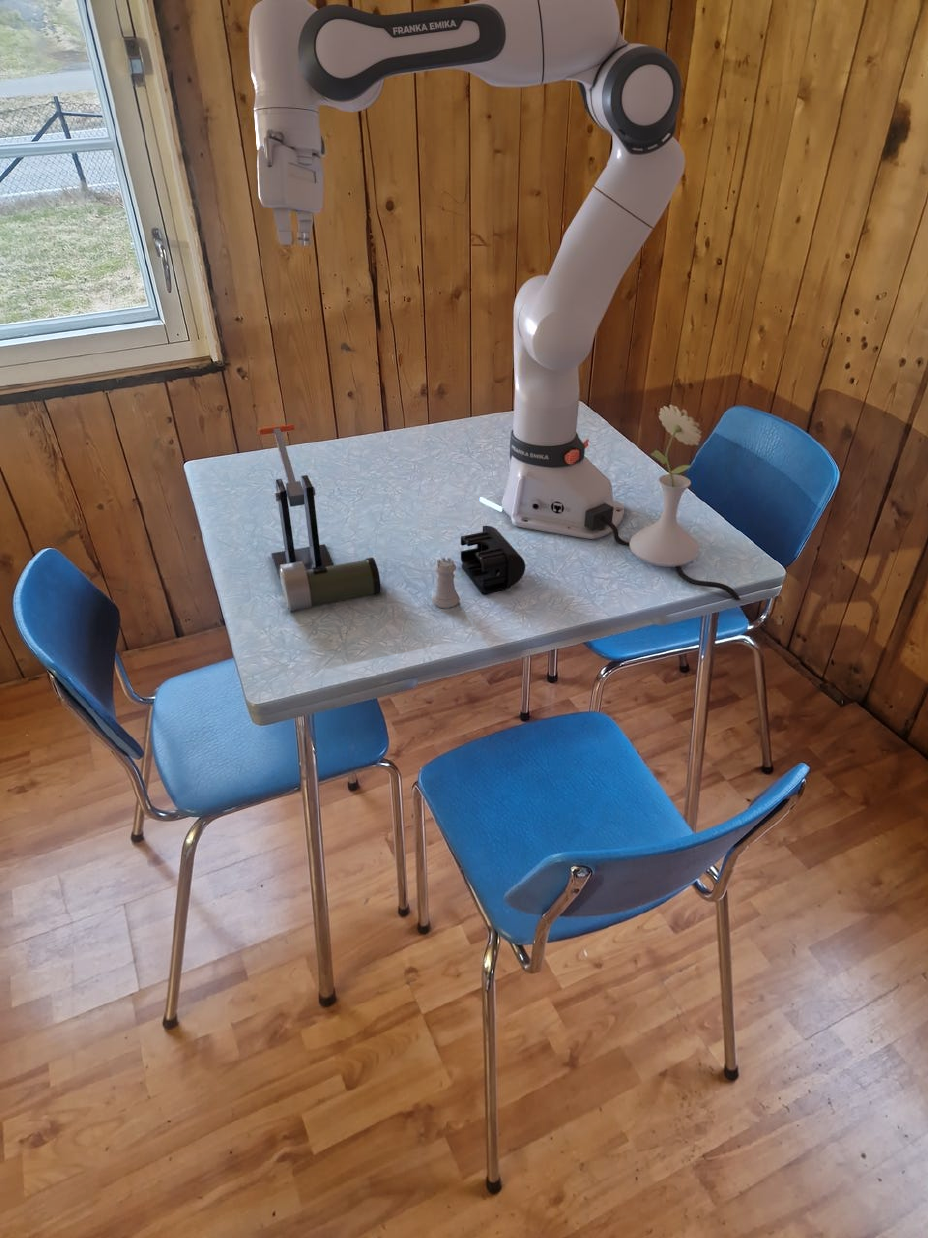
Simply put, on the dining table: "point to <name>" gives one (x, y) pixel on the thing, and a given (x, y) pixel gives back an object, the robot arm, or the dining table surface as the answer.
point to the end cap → (491, 561)
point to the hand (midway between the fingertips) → (296, 245)
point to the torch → (328, 583)
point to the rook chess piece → (445, 584)
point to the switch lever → (286, 464)
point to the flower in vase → (670, 502)
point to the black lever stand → (314, 553)
